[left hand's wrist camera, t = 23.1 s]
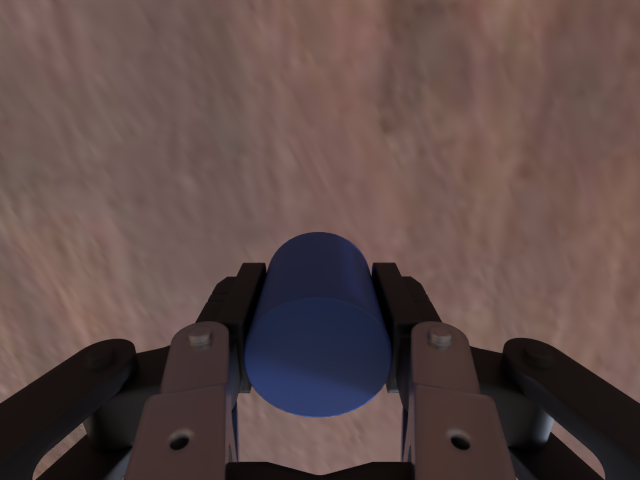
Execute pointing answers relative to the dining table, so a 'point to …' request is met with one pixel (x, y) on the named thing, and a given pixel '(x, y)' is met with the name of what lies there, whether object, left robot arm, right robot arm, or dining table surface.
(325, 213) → the dining table surface
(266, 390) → the can
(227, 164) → the dining table surface
